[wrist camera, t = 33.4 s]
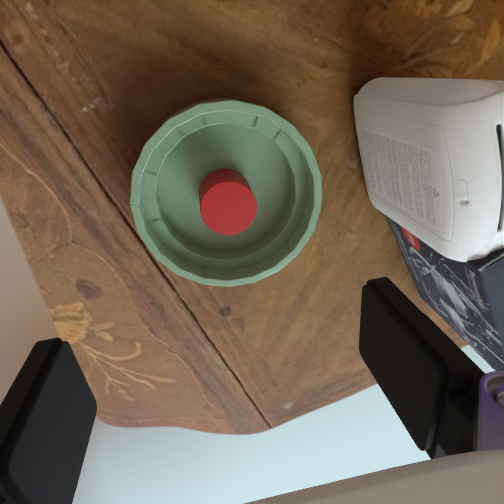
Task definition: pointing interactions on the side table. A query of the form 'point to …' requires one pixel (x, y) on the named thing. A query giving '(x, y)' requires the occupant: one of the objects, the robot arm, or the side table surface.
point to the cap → (227, 202)
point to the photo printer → (436, 159)
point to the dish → (240, 160)
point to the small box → (460, 292)
